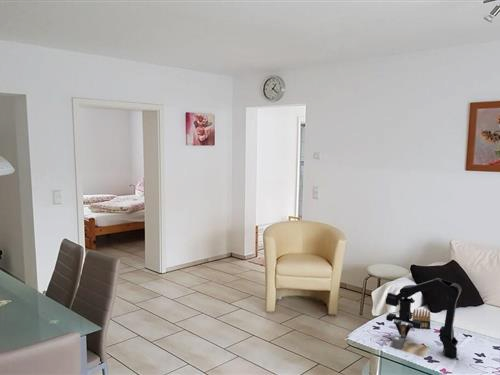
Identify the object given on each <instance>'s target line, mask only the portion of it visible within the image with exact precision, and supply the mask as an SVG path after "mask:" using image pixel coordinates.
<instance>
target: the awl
mask: <svg viewBox="0 0 500 375" xmlns="http://www.w3.org/2000/svg"><path fill="white" fill-rule="evenodd" d="M407 325H408V324H407ZM407 325H406V324H403V323H401V334H399V337H401V338H404V340H405V339H407V336H406V326H407Z"/></svg>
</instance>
